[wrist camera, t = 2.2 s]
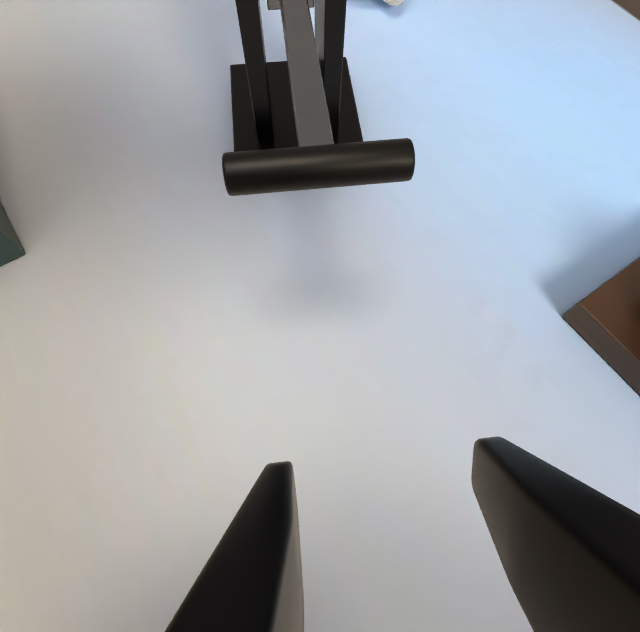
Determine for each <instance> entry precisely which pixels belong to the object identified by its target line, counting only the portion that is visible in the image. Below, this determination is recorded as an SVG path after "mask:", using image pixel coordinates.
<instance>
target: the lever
mask: <svg viewBox="0 0 640 632" xmlns="http://www.w3.org/2000/svg"><path fill="white" fill-rule="evenodd" d="M267 5H268V10H277V9H281V16H282V24H283V32H284V39H285V47H286V55H287V63H288V70H289V78H290V86H291V94H292V101H293V109H294V117H295V125H296V132H297V140H298V147H290V148H277V149H265V150H252V151H239V152H227V153H224V154H223V157H222V167H223V175H224V181H225V186H226V190H227V192H228V194H229V195H230V196H236V195H248V194H260V193H272V192H283V191H295V190H307V189H319V188H331V187H343V186H354V185H366V184H378V183H390V182H402V181H409V180H410V179H411V178H412V176H413V173H414V167H415V152H414V147H413V143H412V141H411V140H410V139H408V138H404V139H391V140H378V141H366V142H353V143H340V144H334V141H333V136H332V130H331V125H330V119H329V114H328V108H327V103H326V97H325V92H324V87H323V81H322V76H321V70H320V65H319V59H318V54H317V49H316V43H315V38H314V32H313V27H312V21H311V16H310V11H309V7H314V0H267Z"/></svg>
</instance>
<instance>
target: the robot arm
mask: <svg viewBox="0 0 640 632" xmlns="http://www.w3.org/2000/svg"><path fill="white" fill-rule="evenodd" d="M472 486H473V490H474V493H475V496H476V498H477V501H478V503H479V506H480V509H481V511H482V514H483V516H484V519H485V521H486V524H487V527H488V529H489V532H490V534H491V537H492V539H493V542H494V545H495V547H496V550H497V552H498V555H499V557H500V560H501V563H502V565H503V568H504V570H505V572H506V575H507V577H508V580H509V582H510V584H511V586H512V589H513V591H514V593H515V595H516V597H517V599H518V601H519V603H520V605H521V607H522V609H523V611H524V613H525V615H526V617H527V619H528V621H529V623H530V625H531V627H532V629H533V631H534V632H640V515H639V514H638V513H636V512H634V511H632V510H630V509H629V508H627V507H625V506H623V505H622V504H620V503H618V502H616V501H614V500H613V499H611V498H609V497H607V496H606V495H604V494H602V493H600V492H598V491H597V490H595V489H593V488H591V487H589V486H588V485H586V484H584V483H582V482H581V481H579V480H577V479H575V478H573V477H572V476H570V475H568V474H566V473H564V472H563V471H561V470H559V469H557V468H556V467H554V466H552V465H550V464H548V463H547V462H545V461H543V460H541V459H540V458H538V457H536V456H534V455H532V454H531V453H529V452H527V451H525V450H523V449H522V448H520V447H518V446H516V445H515V444H513V443H511V442H509V441H507V440H506V439H504V438H501V437H490V438H482V439H478V440H477V441H476V442H475V444H474V450H473V463H472ZM165 632H304V597H303V581H302V566H301V551H300V536H299V521H298V508H297V498H296V490H295V481H294V473H293V466H292V464H291V462H289V461H286V462H278V463H270V464H268V465H266V466H265V468H264V470H263V471H262V473H261V475H260V476H259V478H258V479H257V481H256V483H255V484H254V486H253V488H252V489H251V491H250V493H249V494H248V496H247V497H246V499H245V501H244V502H243V504H242V506H241V507H240V509H239V511H238V512H237V514H236V516H235V517H234V519H233V520H232V522H231V524H230V525H229V527H228V529H227V530H226V532H225V534H224V535H223V537H222V539H221V540H220V542H219V543H218V545H217V547H216V548H215V550H214V552H213V553H212V555H211V557H210V558H209V560H208V561H207V563H206V565H205V566H204V568H203V570H202V571H201V573H200V575H199V576H198V578H197V580H196V581H195V583H194V584H193V586H192V588H191V589H190V591H189V593H188V594H187V596H186V598H185V599H184V601H183V603H182V604H181V606H180V607H179V609H178V611H177V612H176V614H175V616H174V617H173V619H172V621H171V622H170V624H169V625H168V627H167V629H166V630H165Z"/></svg>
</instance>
